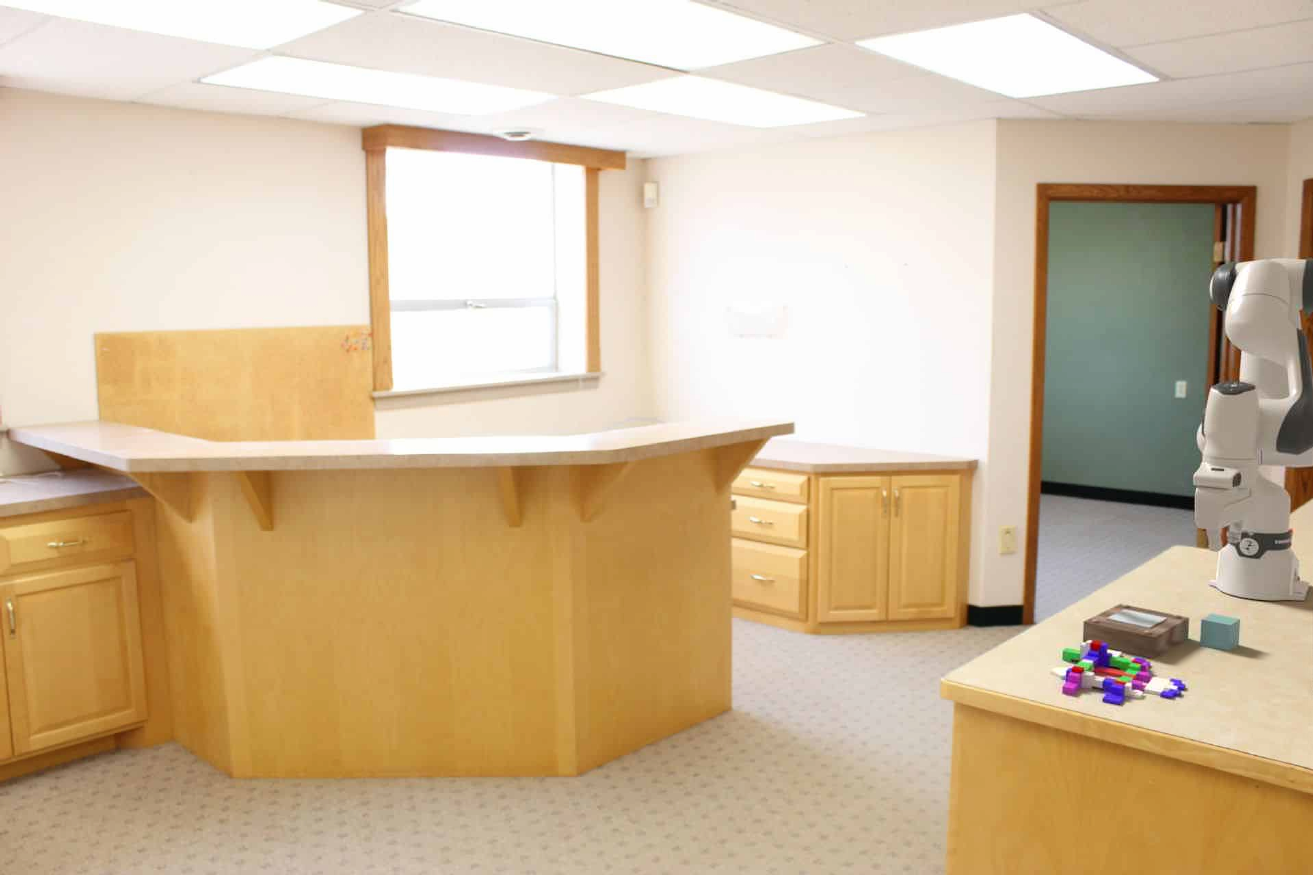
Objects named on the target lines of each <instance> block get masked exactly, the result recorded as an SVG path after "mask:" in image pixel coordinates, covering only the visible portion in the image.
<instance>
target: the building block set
mask: <svg viewBox="0 0 1313 875" xmlns="http://www.w3.org/2000/svg"><path fill="white" fill-rule="evenodd" d="M1079 647H1080V648H1079V649H1076V648H1071V647H1070V648H1066V647H1065V648H1064V649H1062V658H1061V660H1062V661H1066V662H1072V661H1073V660H1077V661H1078V663H1076V665H1073V666H1072V667H1069V666H1068V667H1067V666H1066V667H1053V668H1051V670H1050V674H1051V675H1052V676H1054V677H1056V678H1058V679H1059V680H1064V679H1065V683H1064V684H1063V685H1062V690H1061V693H1062V694H1065V695H1070V696H1074V695H1075V694H1076V693H1077V692H1078V691H1079V690H1080V689H1081V688H1085V689H1093V687H1095V688H1099V689H1102V692H1106V693H1105V695H1104V696H1103V697H1102V698H1101V699H1102V700H1101V701H1102V703H1105V704H1106V703H1107V704H1111V705H1117V706H1120V705H1121V704H1122V703H1123V702H1124V701H1125V699H1126V697H1130V698H1133V699H1138V700H1139V699H1140V700H1141V699H1142V698H1143V696H1144V693H1147V694H1152V695H1156V696H1157V695H1158V696H1159V698H1163V699H1168V700H1172V699H1173V697H1177V698H1180V696H1182V692H1184V691H1185V689H1186V688H1187V687H1186V684H1185V683H1183V680H1182V679H1177V678H1170V679H1167V678H1162V677H1158V676H1157V677H1156V676H1152V675H1151V676H1150V672H1149V667H1150V665H1151V662H1150V661H1148V660H1146V658H1141V657H1134V659H1129V658H1126V657H1121V656H1122V655H1123V651H1119V650H1114V649H1108V648H1107V647H1108V643H1103V642H1097V641H1092V640H1088V641H1087V642H1086V643H1085V642H1083V641H1082V642H1081V643H1080V646H1079ZM1112 667H1116V668H1119V669H1115V668H1112ZM1098 674H1100V675H1098ZM1103 675H1105V676H1103ZM1108 676H1109V677H1108ZM1110 676H1111V677H1110ZM1113 677H1115V678H1113ZM1143 682H1144V683H1148V684H1147V685H1145V684H1143Z"/></svg>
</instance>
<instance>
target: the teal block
mask: <svg viewBox="0 0 1313 875" xmlns="http://www.w3.org/2000/svg"><path fill="white" fill-rule="evenodd" d="M1240 626H1241V619H1240V618H1237V617H1236V618H1235V617H1232V616H1231V617H1230V616H1225V615H1221V614H1217V613H1216V614H1215V613H1210V614H1208V615H1206V616H1204V617H1203V618H1200V635H1199V636H1200V639H1199V646H1202V647H1203V646H1204V647H1206V648H1207V647H1208V648H1213V649H1216V650H1217V649H1218V650H1221V651H1226V652H1230V651H1232V650H1233V649H1235V648H1236V647H1238V646H1239V644H1240V643H1239V642H1240V630H1241V629H1240V628H1241V627H1240Z"/></svg>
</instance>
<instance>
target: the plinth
mask: <svg viewBox="0 0 1313 875" xmlns="http://www.w3.org/2000/svg"><path fill="white" fill-rule="evenodd" d="M1082 628H1083V630H1082V632H1083V633H1082V642H1085V643H1086V642H1087V641H1088V640H1092V641H1097V642H1103V643H1108V647H1107V649H1109V650H1114V651H1119V652H1122V653H1123V652H1124V653H1128V654H1131V655H1137V656H1141V657H1146V658H1150V659H1155V658H1157V657H1159V656H1161V655H1162V654H1164V653H1166V652H1167V651H1169V650H1170V649H1172V648H1174V647H1176V646H1177V645H1179V644H1181V643H1182V642H1184V641H1185V640H1187V639H1188V638H1189V630H1190V617H1188V616H1183V615H1180V614H1174V613H1173V614H1172V613H1169V612H1163V611H1157V610H1153V609H1148V608H1142V607H1138V606H1133V605H1132V606H1131V605H1129V604H1123V603H1119V604H1117V605H1115V606H1113V607H1111V608H1109V609H1106V610H1105V611H1102V612H1100V613H1098V614H1096V615H1094V616H1092V617H1090V618H1088V619H1086V620H1084V621H1083V626H1082ZM1168 649H1169V650H1168Z"/></svg>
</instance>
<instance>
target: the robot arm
mask: <svg viewBox="0 0 1313 875" xmlns="http://www.w3.org/2000/svg"><path fill="white" fill-rule="evenodd" d="M1209 295H1210V298H1211V300H1212V303H1213V306H1215V308H1217V310H1219V311H1221V312H1222V311H1223V312H1225V318H1224V332H1225V334H1226V336H1227V338H1228V339H1229V341H1230V342H1231V343H1232V344H1233V345H1234V346H1235V347H1237V349H1239V350H1240V351H1241V355H1240V367H1239V381H1225V382H1218V383H1216V384H1215V385H1212V386H1211V388H1210V390H1209V393H1208V398H1207V402H1206V407H1205V408H1204V409H1203V411H1202V414H1201V415H1202V417H1201V423H1200V425H1199V427H1198V428H1197V433H1196V443H1197V447H1198V449H1199V451H1200V452H1201V454H1202V459H1201V461H1202V462H1201V463H1200V466H1199V468H1198V469H1197V470H1196V472H1194V474H1193V478H1192V479H1193V480H1192V482H1193V486H1197V487H1196V489H1195V494H1194V519H1195V520H1194V521H1195V524H1196V526H1197V528H1198V529H1203V530H1206V531H1205V532H1206V536H1207V540H1208V550H1209V551H1210V552H1213V553H1214V552H1215V553H1218V559H1217V567H1216V575H1215V576H1216V577H1213V578H1210V579H1209V581H1208V585H1210V586H1212V587H1215V588H1217V589H1218V591H1219V590H1220V592H1223V593H1224V594H1227V595H1231V596H1235V597H1238V598H1239V597H1240V598H1243V599H1244V598H1246V599H1250V600H1252V599H1253V600H1263V601H1305V600H1306V597H1307V594H1308V591H1309V589H1310V586H1311V585H1310V581H1309V580H1306V579H1304V578H1300V576H1299V572H1300V571H1299V569H1300V560H1299V559H1298V557H1297V555H1296V554H1295V553H1294V551H1293V550H1292V548H1291V547H1292V546H1293V545H1292V540H1293V535H1294V534H1293V533H1294V532H1293V531H1294V530H1293V528H1292V527H1290V520H1291V518H1290V517H1291V503H1292V500H1291V496H1290V494H1289V492H1288V491H1287V490H1286V489H1285V488H1284V487H1283V486H1281V485H1280V484H1278V483H1276V482H1274V481H1272V480H1270V479H1268V478H1266V477H1265V476H1263V474H1262V473H1261V470H1260V469H1259V467H1261V466H1271V467H1272V466H1273V467H1287V468H1306V467H1307V468H1308V467H1313V367H1312V359H1311V355H1310V349H1309V342H1308V337H1307V335H1306V333H1305V331H1304V330H1303V329H1302V320H1301V314H1300V312H1302V311H1304V316H1305V318H1306V319H1307V318H1309V317H1310V316H1311V313H1313V258H1309V257H1308V258H1306V259H1302V258H1301V259H1300V258H1284V257H1283V258H1270V259H1258V260H1250V261H1242V262H1237V261H1233V262H1228V263H1224V264H1221V265H1220V266H1219V267H1218V268H1216V269H1215V270H1214V273H1213V275H1212V278H1211V280H1210V283H1209ZM1226 527H1227V531H1226V542H1227V544H1226V545H1225V546H1223V541H1222V540H1221V539H1222V537H1221V534H1222V532H1223V531H1222V530H1223V529H1224V528H1226Z"/></svg>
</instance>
